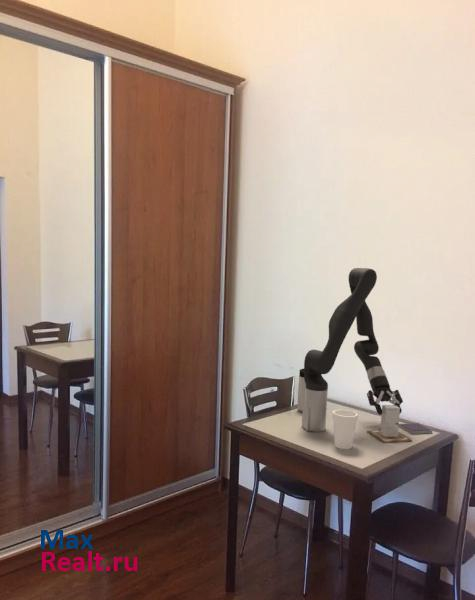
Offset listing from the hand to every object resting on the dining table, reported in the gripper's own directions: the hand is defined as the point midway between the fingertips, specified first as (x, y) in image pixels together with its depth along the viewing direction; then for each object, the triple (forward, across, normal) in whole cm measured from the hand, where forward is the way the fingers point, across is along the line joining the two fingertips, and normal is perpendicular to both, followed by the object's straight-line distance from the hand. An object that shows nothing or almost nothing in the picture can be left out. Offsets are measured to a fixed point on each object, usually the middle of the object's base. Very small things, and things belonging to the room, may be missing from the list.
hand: (390, 413), depth 209 cm
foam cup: (+12, -24, +2) cm, 27 cm away
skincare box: (+6, 0, +7) cm, 9 cm away
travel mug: (-20, -22, +34) cm, 45 cm away
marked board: (+7, 0, +7) cm, 10 cm away
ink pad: (+2, +16, +11) cm, 20 cm away
